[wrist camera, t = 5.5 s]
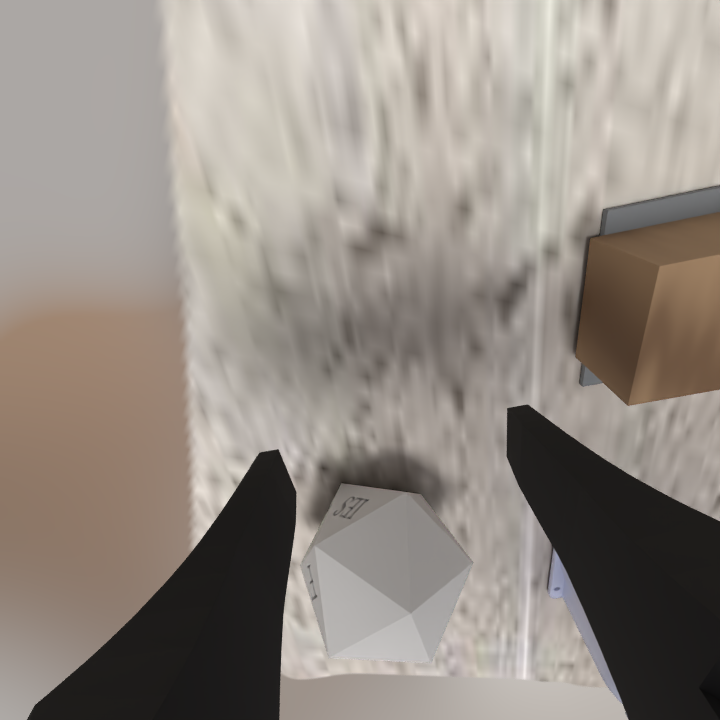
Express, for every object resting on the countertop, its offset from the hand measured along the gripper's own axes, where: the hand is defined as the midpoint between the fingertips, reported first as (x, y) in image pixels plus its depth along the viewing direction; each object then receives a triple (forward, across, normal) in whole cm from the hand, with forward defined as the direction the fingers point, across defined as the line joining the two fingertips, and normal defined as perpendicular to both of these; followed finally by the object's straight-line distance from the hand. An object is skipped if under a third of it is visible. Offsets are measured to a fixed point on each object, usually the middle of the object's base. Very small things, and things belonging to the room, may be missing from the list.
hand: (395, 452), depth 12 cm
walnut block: (+5, -10, 0) cm, 11 cm away
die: (+8, +2, +12) cm, 14 cm away
